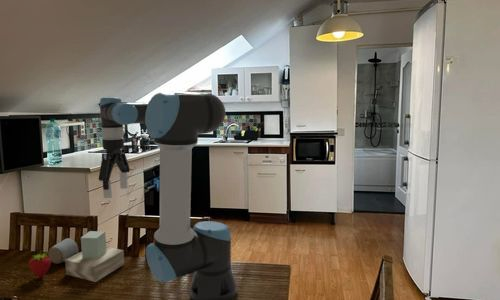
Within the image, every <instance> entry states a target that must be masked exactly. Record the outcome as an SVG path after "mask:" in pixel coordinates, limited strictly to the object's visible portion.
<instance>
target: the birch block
mask: <svg viewBox="0 0 500 300" xmlns="http://www.w3.org/2000/svg"><path fill="white" fill-rule="evenodd" d="M106 250H107V252H106V253H105V254H104V255H102V256H101V257H100V258H99V259H82V251H80V252H78V254H76V255H74V256H72V257H70V258H68V259H66V260H65V262H64V265H65V275H67V276H69V277H70V276H71V277H75V278H79V279H82V280H87V281H90V282H93V283H96V282H99V281H100V280H101V279H103V278H105V277H106V276H107V275H109V274H111V273H113V272H114V271H116V270H118V269H119V268H121V267H122V266H124V265H125V252H124V251H125V250H123V249H120V248H113V247H110V246H106Z"/></svg>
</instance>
